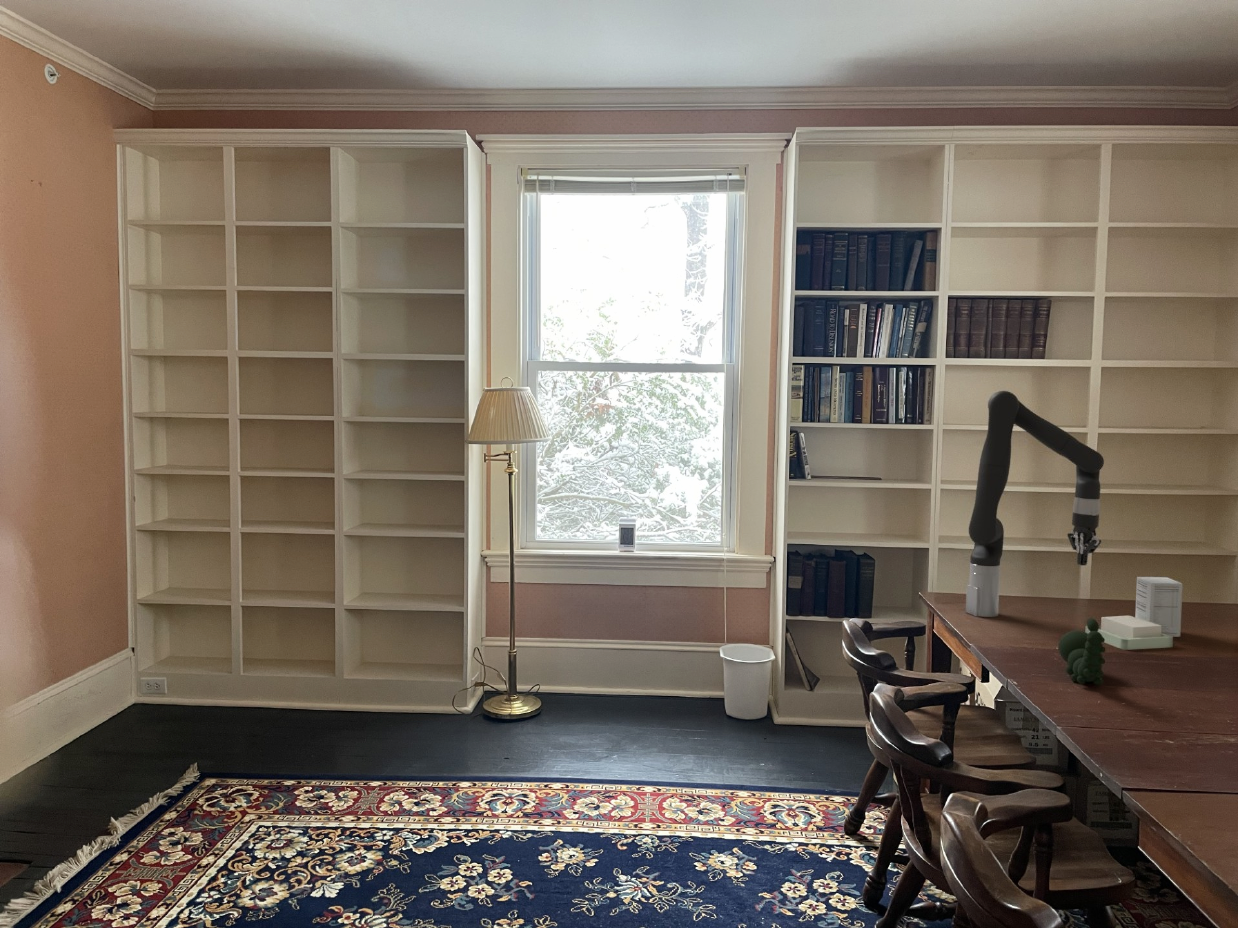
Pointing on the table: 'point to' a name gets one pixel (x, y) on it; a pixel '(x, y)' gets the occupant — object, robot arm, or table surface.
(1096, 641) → the toy figurine
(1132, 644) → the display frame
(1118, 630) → the carton
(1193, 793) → the table surface
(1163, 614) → the supplement box
